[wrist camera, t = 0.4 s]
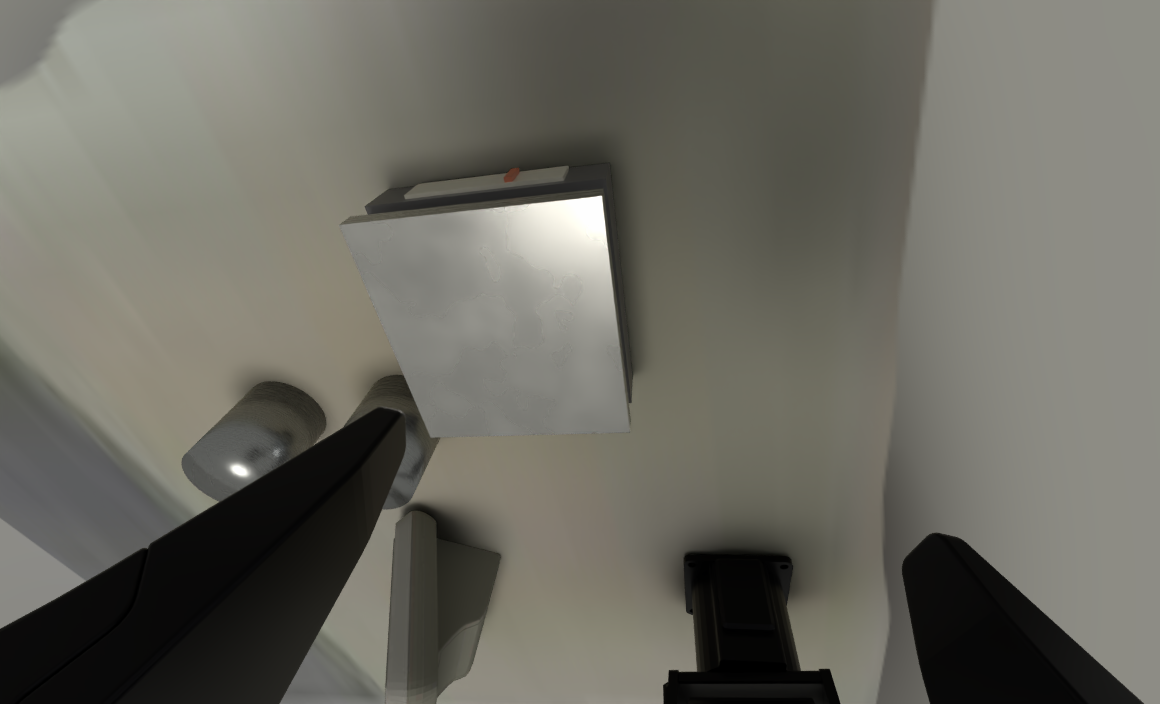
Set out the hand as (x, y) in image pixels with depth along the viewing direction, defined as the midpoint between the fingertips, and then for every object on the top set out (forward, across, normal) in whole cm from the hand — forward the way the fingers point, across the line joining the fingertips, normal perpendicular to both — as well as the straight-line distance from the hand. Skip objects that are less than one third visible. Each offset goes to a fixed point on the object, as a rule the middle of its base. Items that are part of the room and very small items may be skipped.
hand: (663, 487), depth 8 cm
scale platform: (+10, +5, +5) cm, 12 cm away
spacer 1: (+14, +17, +16) cm, 27 cm away
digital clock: (+14, +8, +30) cm, 34 cm away
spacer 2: (+14, +10, +13) cm, 21 cm away
